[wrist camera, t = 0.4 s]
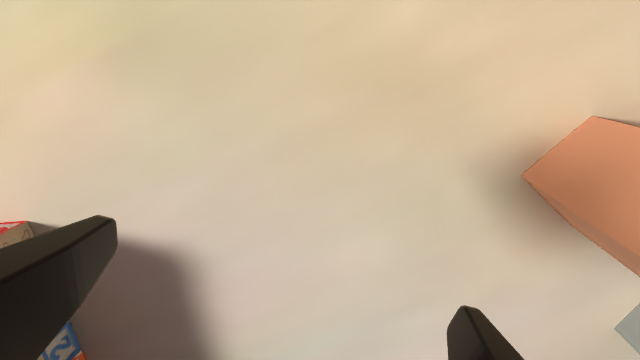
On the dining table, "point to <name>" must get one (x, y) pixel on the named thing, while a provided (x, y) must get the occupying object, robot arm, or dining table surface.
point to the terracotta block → (596, 185)
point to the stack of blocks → (64, 349)
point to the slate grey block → (631, 328)
